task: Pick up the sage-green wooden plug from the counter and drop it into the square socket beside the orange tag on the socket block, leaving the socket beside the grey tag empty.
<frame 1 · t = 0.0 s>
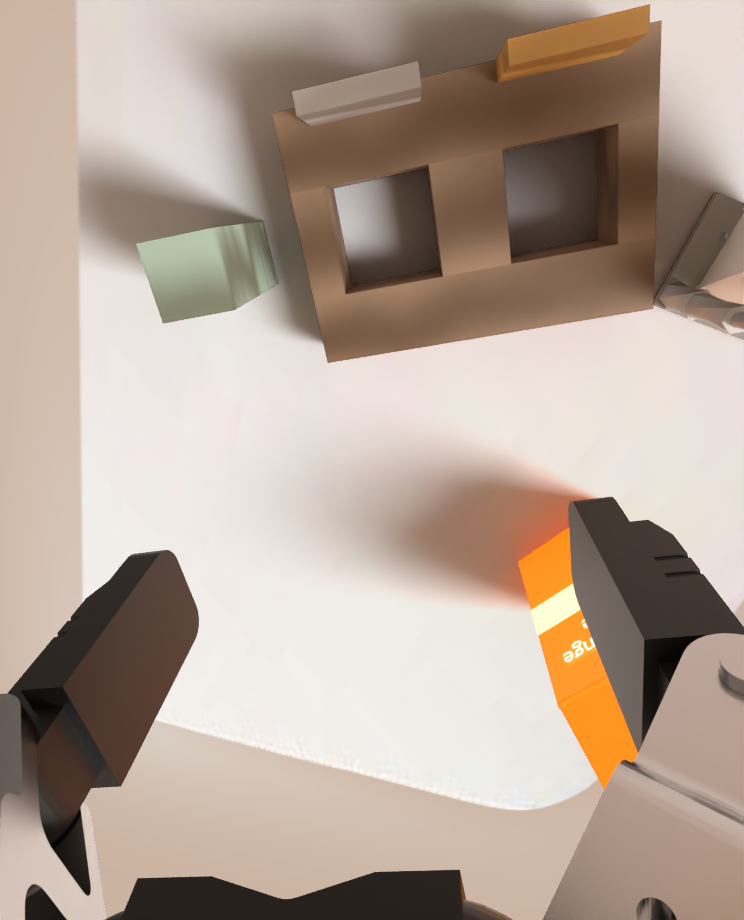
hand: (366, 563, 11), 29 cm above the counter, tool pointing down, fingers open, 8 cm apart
orange juice: (587, 559, 45), on the counter
socket block: (465, 214, 34), on the counter
skyscraper: (743, 261, 35), on the counter
green plug: (242, 258, 37), on the counter
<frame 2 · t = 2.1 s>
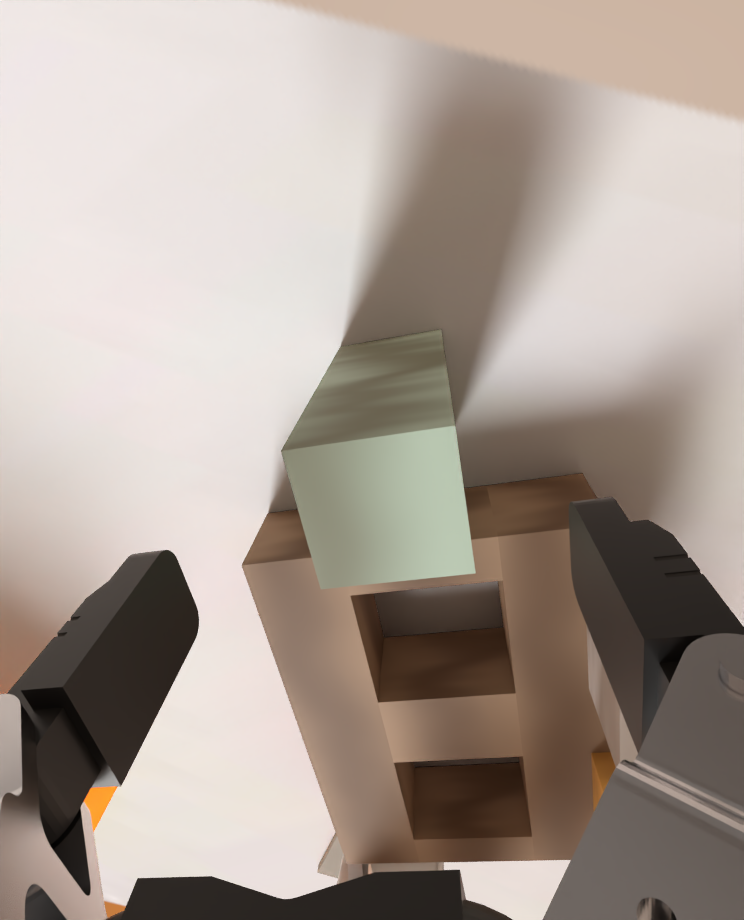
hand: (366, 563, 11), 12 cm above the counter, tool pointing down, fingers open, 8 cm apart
orange juice: (34, 771, 36), on the counter
socket block: (447, 662, 28), on the counter
skyscraper: (391, 856, 36), on the counter
green plug: (398, 386, 22), on the counter
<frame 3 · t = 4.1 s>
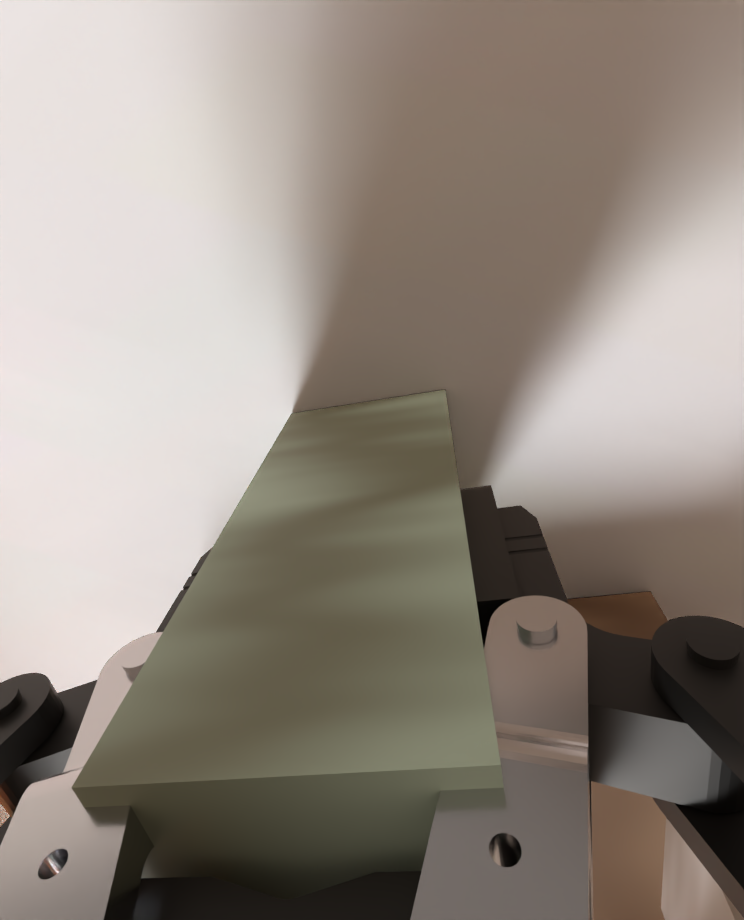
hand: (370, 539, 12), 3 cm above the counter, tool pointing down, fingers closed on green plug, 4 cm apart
socket block: (451, 816, 21), on the counter
green plug: (380, 471, 15), on the counter, touching gripper
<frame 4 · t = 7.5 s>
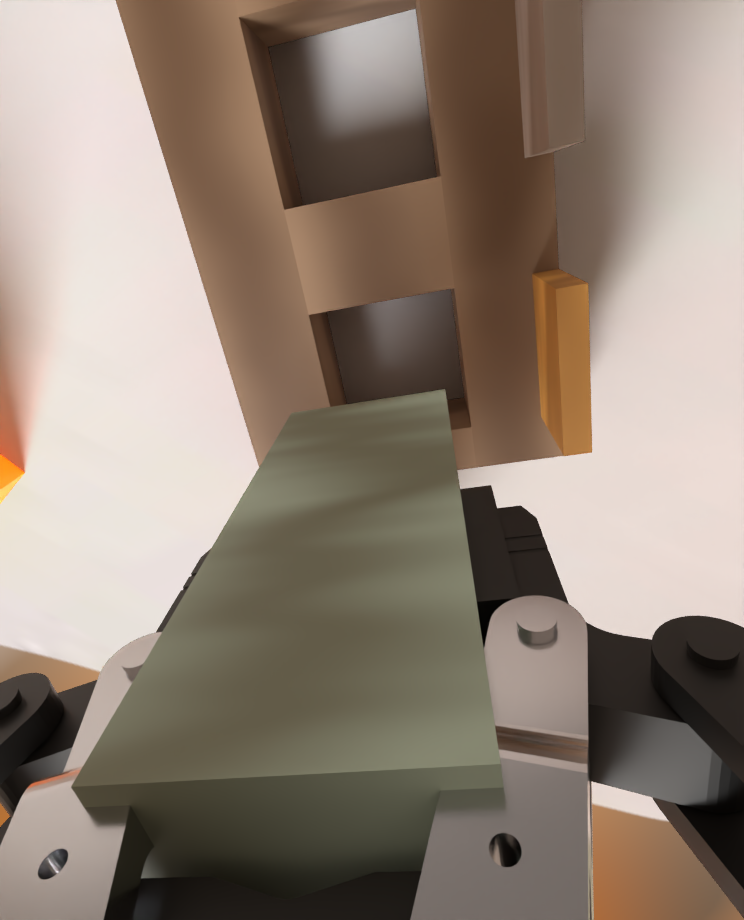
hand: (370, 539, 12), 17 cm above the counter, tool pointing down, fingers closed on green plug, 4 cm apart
socket block: (377, 242, 25), on the counter
green plug: (380, 470, 15), point 13 cm above the counter, touching gripper
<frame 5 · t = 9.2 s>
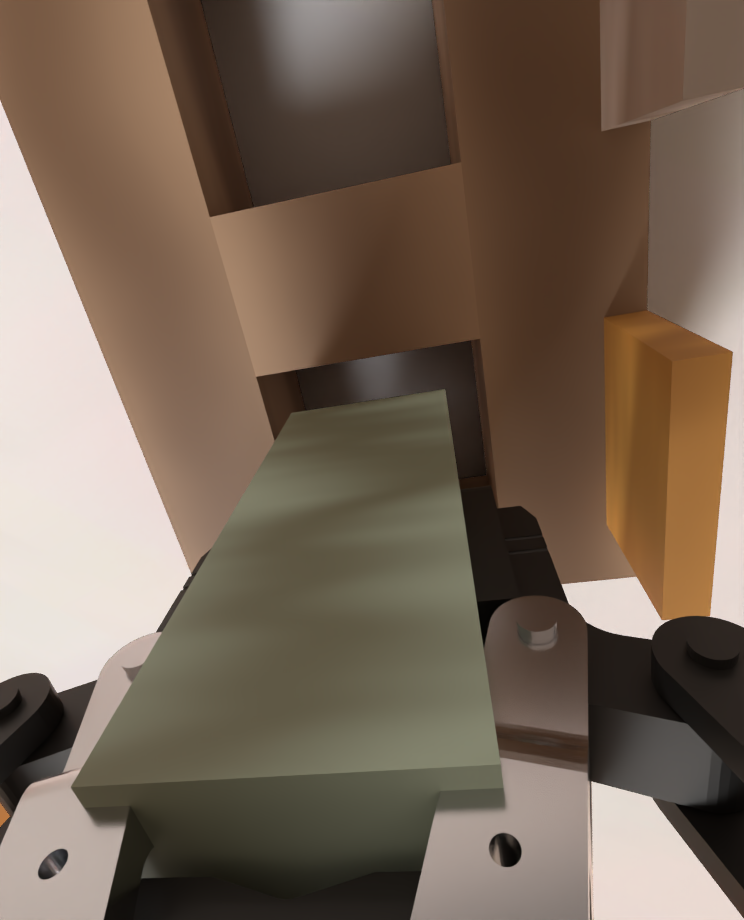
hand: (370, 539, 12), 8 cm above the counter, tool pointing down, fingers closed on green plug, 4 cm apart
socket block: (363, 262, 17), on the counter
green plug: (380, 470, 15), point 5 cm above the counter, touching gripper
when the fingers open (5 cm above the counter, at t = 10.9 s): green plug drops 1 cm, resting in socket block.
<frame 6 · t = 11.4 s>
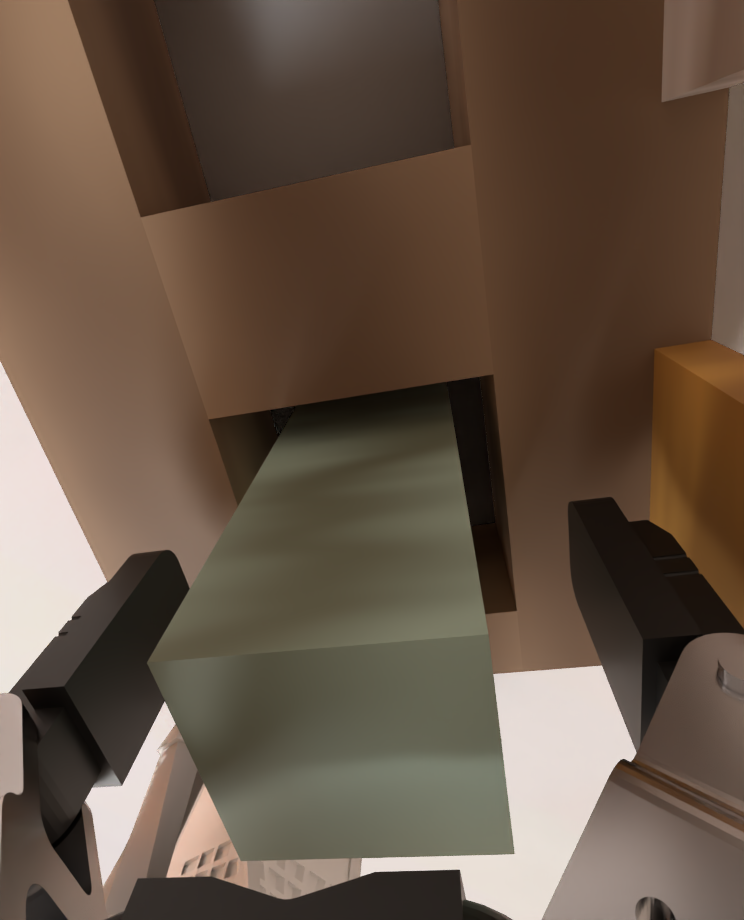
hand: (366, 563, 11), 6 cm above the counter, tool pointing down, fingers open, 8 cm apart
socket block: (347, 273, 14), on the counter
skyscraper: (290, 734, 22), on the counter
green plug: (385, 447, 16), resting in socket block
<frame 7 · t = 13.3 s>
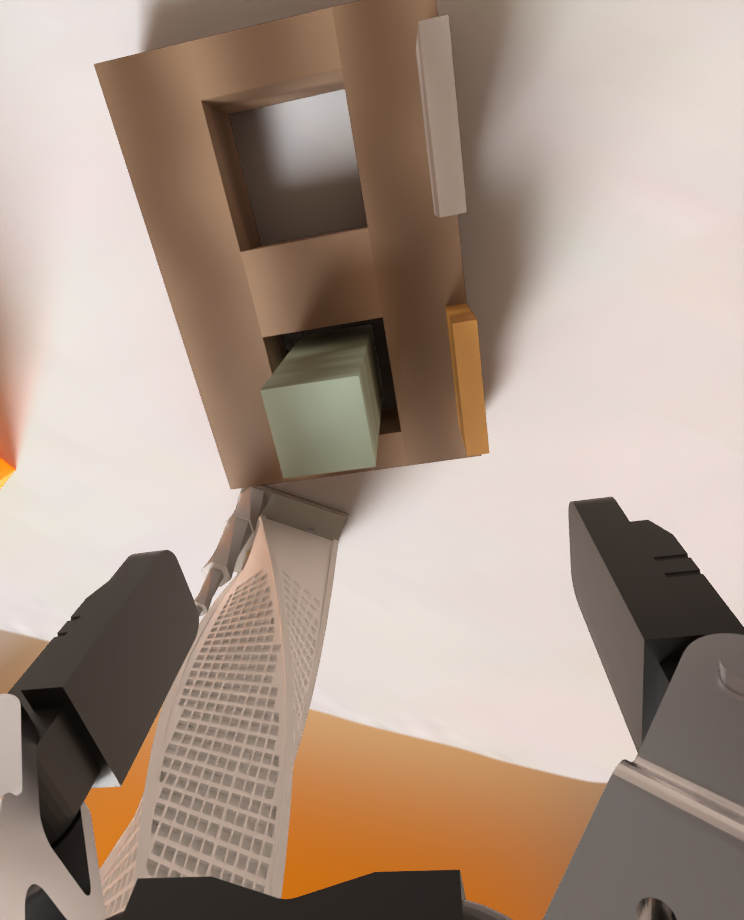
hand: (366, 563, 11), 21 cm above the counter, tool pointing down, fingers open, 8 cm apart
socket block: (323, 274, 29), on the counter
skyscraper: (291, 547, 37), on the counter
green plug: (343, 363, 31), resting in socket block
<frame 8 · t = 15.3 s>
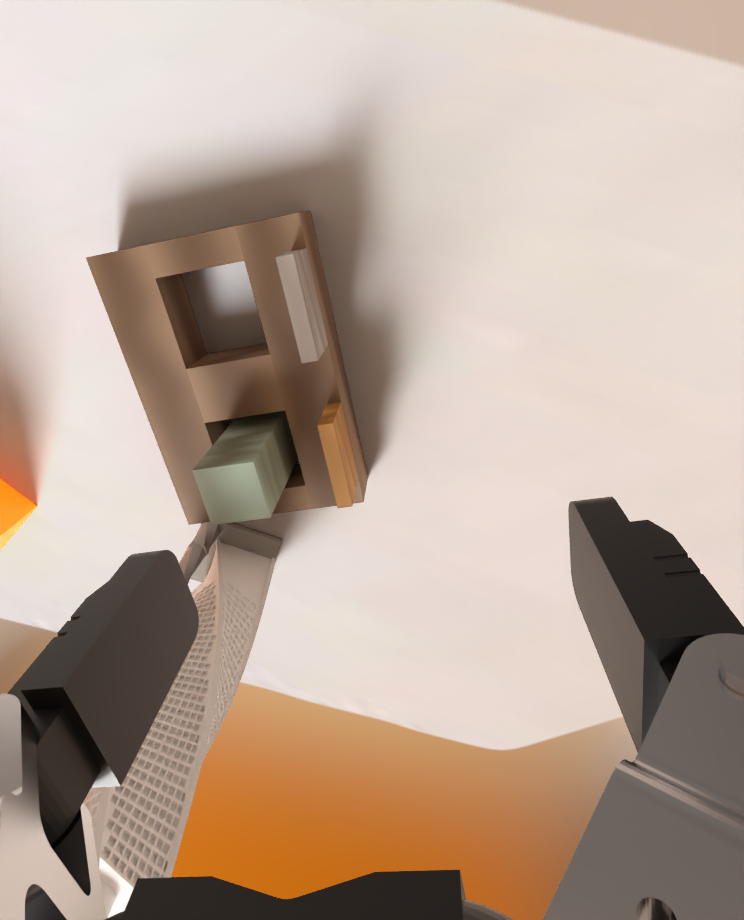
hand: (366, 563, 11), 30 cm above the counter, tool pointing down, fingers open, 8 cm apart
socket block: (252, 373, 41), on the counter
skyscraper: (241, 563, 49), on the counter
green plug: (270, 433, 43), resting in socket block
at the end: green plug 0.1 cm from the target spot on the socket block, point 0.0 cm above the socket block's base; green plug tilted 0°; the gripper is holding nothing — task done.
